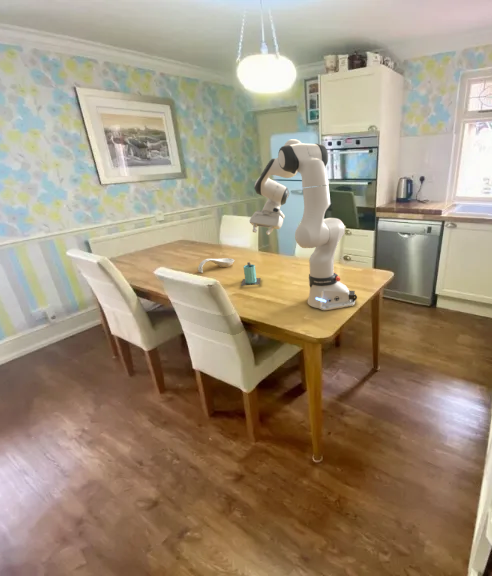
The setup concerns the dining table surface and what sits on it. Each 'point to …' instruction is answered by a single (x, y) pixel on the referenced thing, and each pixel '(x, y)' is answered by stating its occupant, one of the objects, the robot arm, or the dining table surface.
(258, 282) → the stand
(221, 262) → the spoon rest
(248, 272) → the teal hollow cylinder
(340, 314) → the dining table surface
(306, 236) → the robot arm
